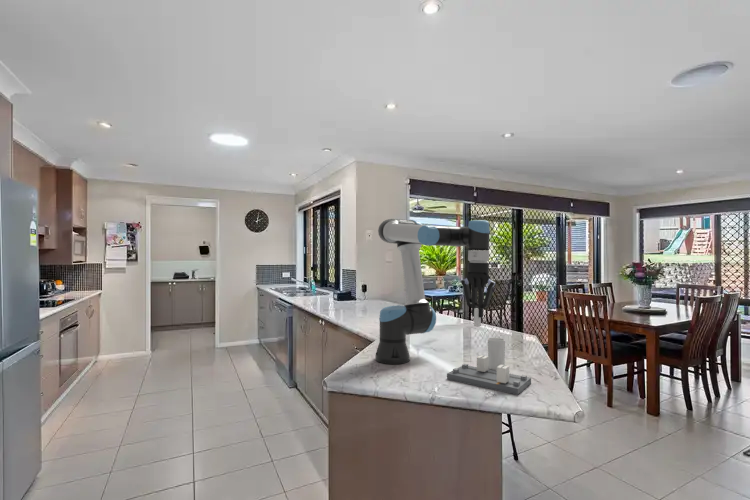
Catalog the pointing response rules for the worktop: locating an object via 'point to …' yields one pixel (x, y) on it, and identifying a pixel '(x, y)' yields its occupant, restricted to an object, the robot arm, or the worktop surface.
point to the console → (489, 379)
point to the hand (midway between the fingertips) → (477, 325)
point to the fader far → (482, 363)
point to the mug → (496, 353)
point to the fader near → (503, 373)
